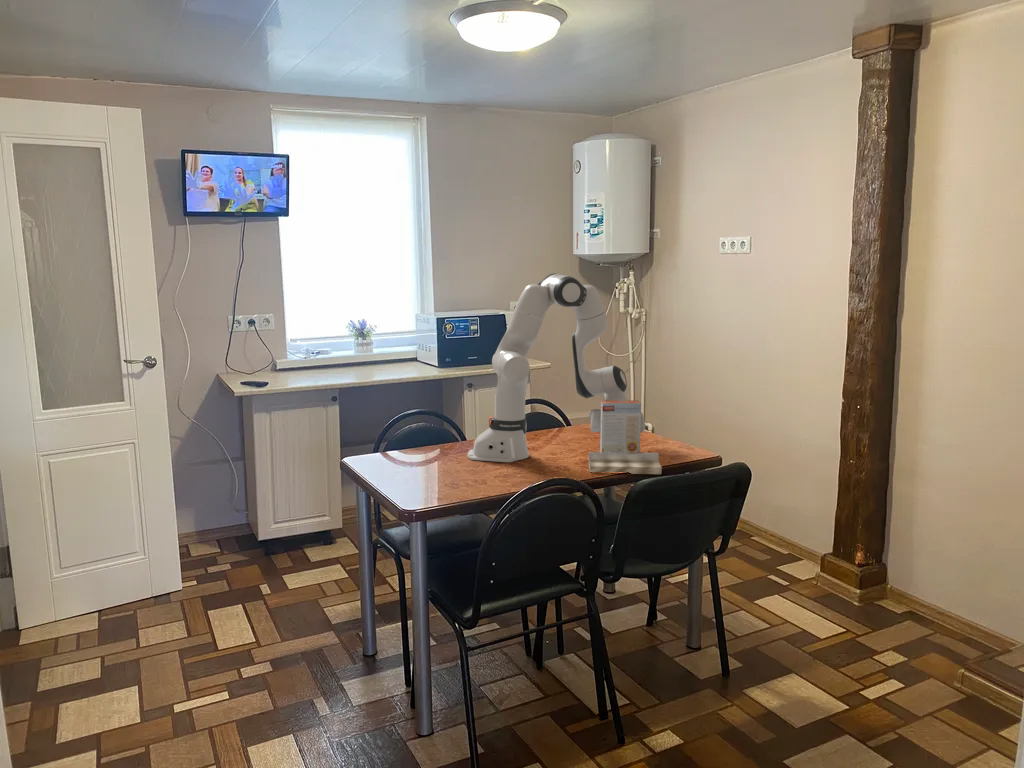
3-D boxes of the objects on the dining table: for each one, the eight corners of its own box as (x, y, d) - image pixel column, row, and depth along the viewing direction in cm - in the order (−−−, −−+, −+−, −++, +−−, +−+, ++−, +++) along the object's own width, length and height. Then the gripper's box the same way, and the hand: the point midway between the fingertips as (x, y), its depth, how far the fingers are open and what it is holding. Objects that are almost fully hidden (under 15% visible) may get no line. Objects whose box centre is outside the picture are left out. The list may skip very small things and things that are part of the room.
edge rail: (588, 467, 269) (589, 453, 268) (588, 465, 271) (588, 452, 270) (658, 468, 269) (658, 454, 268) (657, 466, 271) (657, 452, 270)
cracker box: (637, 455, 286) (639, 399, 282) (639, 459, 280) (641, 402, 276) (599, 455, 286) (600, 399, 282) (601, 459, 280) (602, 402, 276)
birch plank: (590, 473, 262) (590, 466, 262) (588, 467, 269) (589, 460, 269) (661, 474, 262) (661, 467, 261) (658, 468, 269) (658, 461, 268)
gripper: (589, 404, 291) (590, 436, 283) (644, 405, 290) (647, 436, 282) (588, 413, 296) (589, 445, 288) (642, 414, 295) (644, 445, 288)
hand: (618, 441), depth 285 cm, fingers closed
